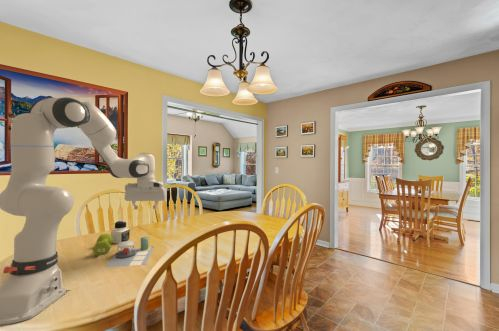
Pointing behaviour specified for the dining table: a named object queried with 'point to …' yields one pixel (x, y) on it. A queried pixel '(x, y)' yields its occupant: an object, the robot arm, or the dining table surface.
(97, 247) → the dumbbell
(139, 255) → the game board
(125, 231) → the medicine bottle
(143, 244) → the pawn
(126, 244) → the dome
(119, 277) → the dining table surface
